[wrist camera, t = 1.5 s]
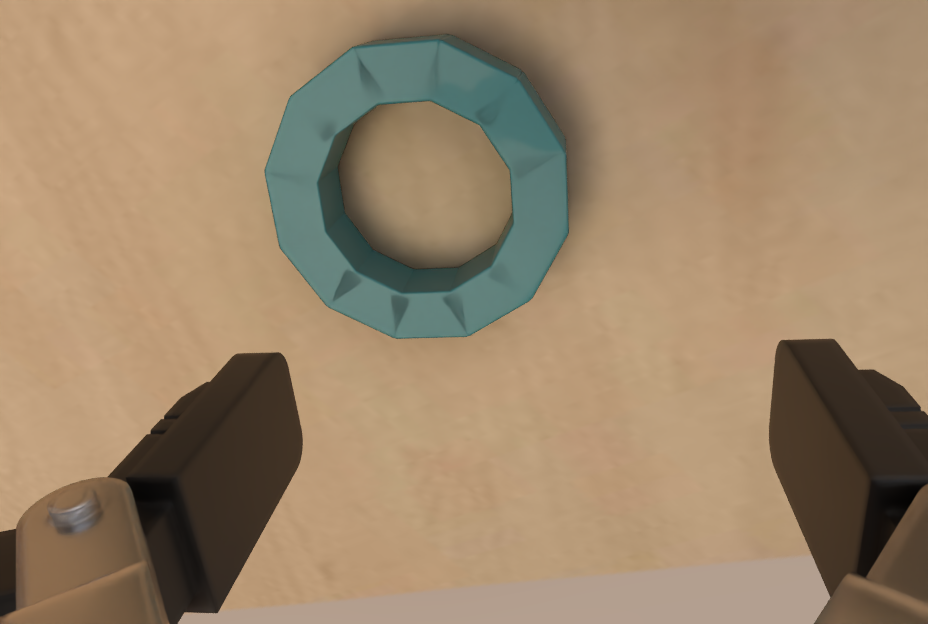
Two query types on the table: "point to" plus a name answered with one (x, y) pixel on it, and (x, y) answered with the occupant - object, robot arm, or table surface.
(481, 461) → the table surface
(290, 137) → the ring
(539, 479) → the table surface
